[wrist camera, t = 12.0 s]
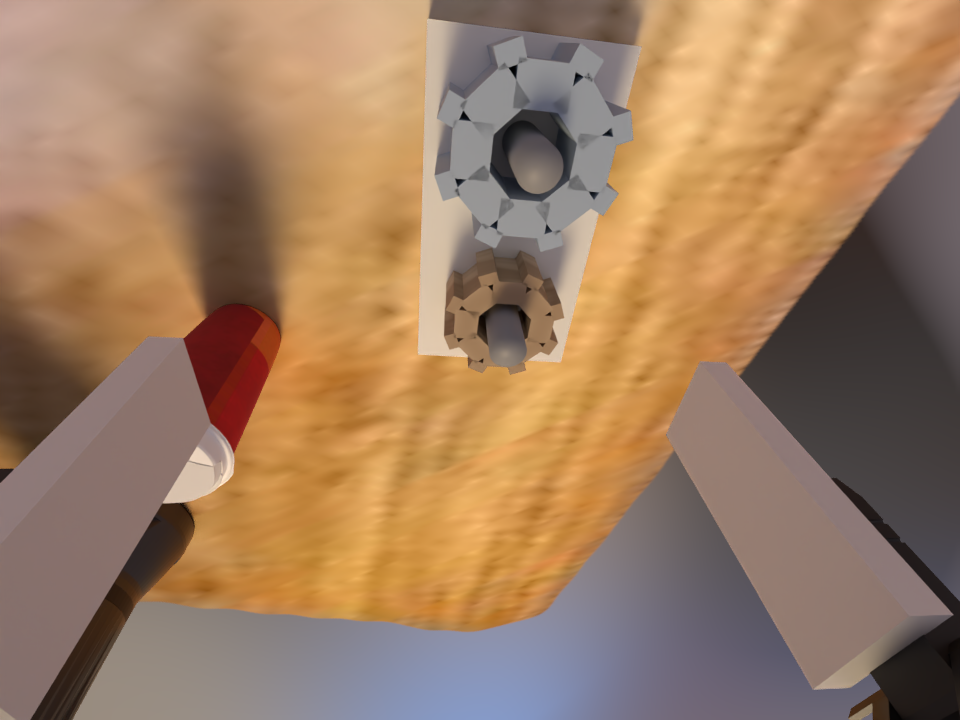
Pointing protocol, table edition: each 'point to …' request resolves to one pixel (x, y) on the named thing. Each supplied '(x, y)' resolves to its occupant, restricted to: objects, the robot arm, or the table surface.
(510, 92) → the gray gear
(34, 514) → the robot arm
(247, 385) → the paper cup
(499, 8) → the table surface
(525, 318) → the beech gear
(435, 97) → the gear board
